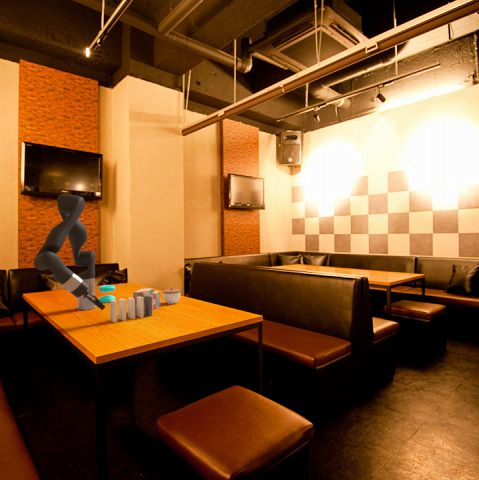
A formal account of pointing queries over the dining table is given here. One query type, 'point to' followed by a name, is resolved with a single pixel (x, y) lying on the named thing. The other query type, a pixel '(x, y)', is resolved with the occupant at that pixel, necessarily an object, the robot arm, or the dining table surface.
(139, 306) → the domino
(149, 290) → the stack of blocks
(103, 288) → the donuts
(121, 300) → the domino
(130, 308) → the domino
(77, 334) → the dining table surface
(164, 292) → the lidded jar
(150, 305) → the domino
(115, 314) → the domino
